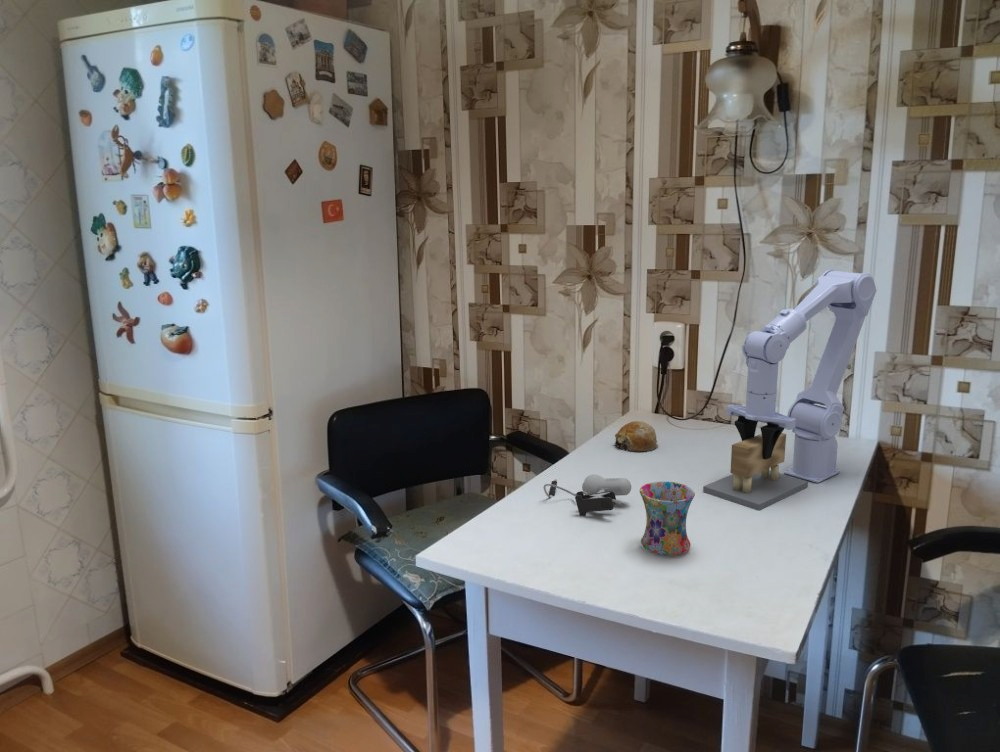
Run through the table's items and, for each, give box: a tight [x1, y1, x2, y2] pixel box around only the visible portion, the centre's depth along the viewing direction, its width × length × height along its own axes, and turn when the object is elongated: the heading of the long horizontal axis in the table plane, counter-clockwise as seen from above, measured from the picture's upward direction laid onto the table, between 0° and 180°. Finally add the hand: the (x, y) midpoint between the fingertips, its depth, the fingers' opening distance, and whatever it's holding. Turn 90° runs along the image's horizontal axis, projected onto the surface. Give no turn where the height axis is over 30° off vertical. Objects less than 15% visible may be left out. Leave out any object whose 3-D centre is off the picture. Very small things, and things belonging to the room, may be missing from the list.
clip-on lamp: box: [543, 474, 632, 517], centre depth 159 cm, size 12×6×18 cm
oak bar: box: [730, 432, 787, 478], centre depth 163 cm, size 14×4×6 cm, turn 130°
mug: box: [639, 480, 696, 556], centre depth 139 cm, size 12×9×11 cm
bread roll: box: [614, 420, 659, 453], centre depth 192 cm, size 10×10×8 cm
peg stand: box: [702, 464, 809, 511], centre depth 164 cm, size 18×13×4 cm
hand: (757, 455), depth 163 cm, fingers closed on oak bar, 4 cm apart
